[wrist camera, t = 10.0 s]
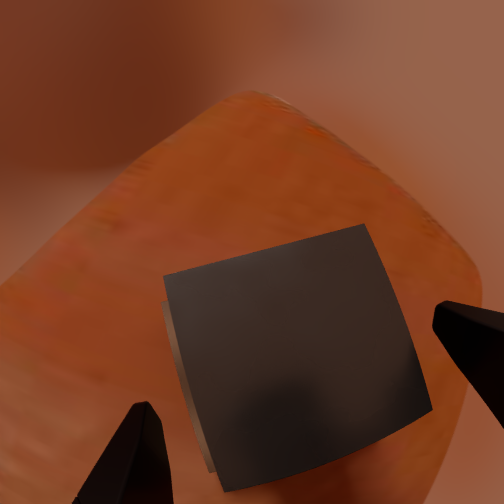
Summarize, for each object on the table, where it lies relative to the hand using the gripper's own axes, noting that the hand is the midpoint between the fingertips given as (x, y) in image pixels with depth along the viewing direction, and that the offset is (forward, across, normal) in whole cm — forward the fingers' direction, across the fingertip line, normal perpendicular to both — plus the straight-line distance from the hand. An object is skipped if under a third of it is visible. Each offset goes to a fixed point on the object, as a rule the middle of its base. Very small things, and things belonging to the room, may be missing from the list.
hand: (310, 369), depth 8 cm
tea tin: (+7, 0, +6) cm, 10 cm away
